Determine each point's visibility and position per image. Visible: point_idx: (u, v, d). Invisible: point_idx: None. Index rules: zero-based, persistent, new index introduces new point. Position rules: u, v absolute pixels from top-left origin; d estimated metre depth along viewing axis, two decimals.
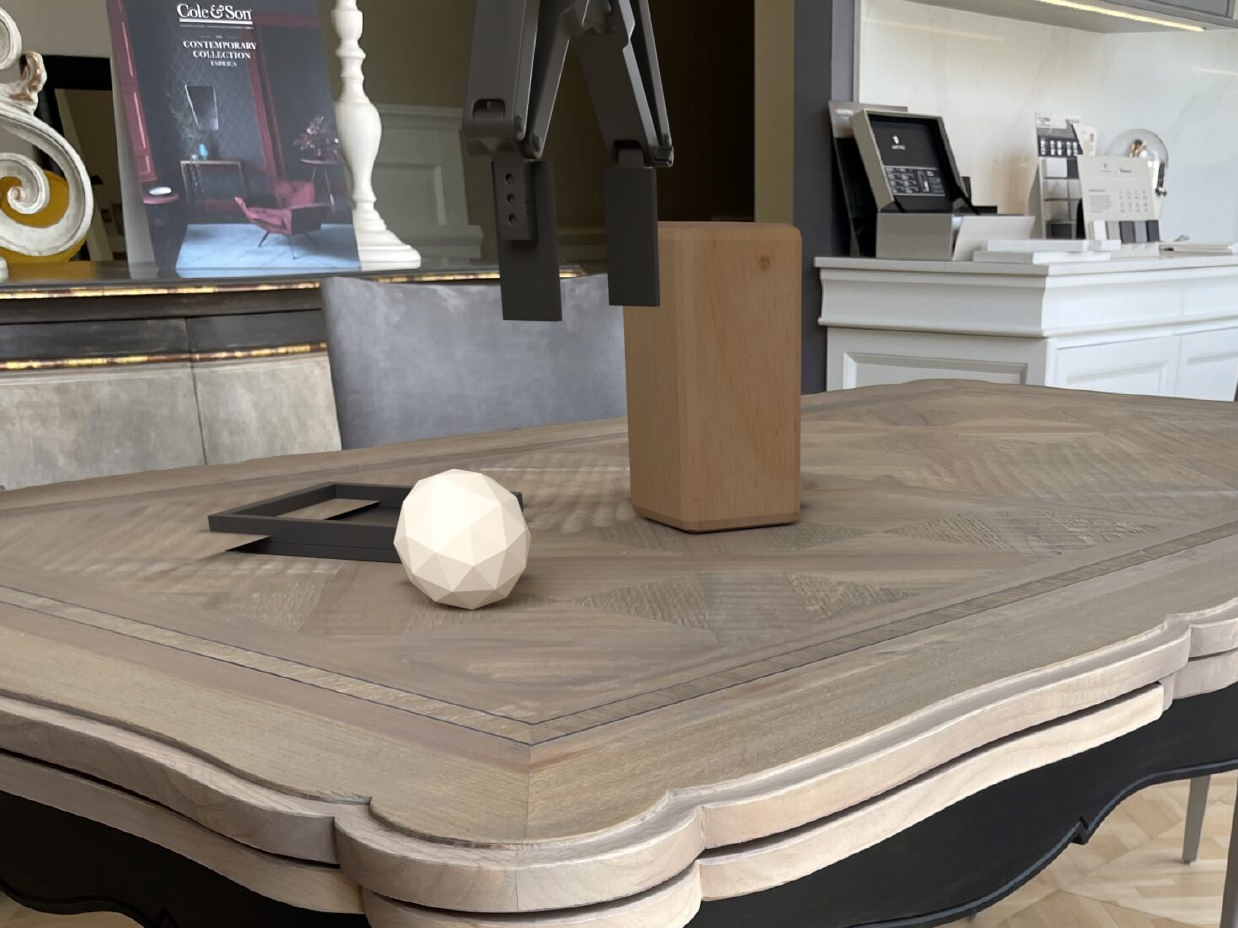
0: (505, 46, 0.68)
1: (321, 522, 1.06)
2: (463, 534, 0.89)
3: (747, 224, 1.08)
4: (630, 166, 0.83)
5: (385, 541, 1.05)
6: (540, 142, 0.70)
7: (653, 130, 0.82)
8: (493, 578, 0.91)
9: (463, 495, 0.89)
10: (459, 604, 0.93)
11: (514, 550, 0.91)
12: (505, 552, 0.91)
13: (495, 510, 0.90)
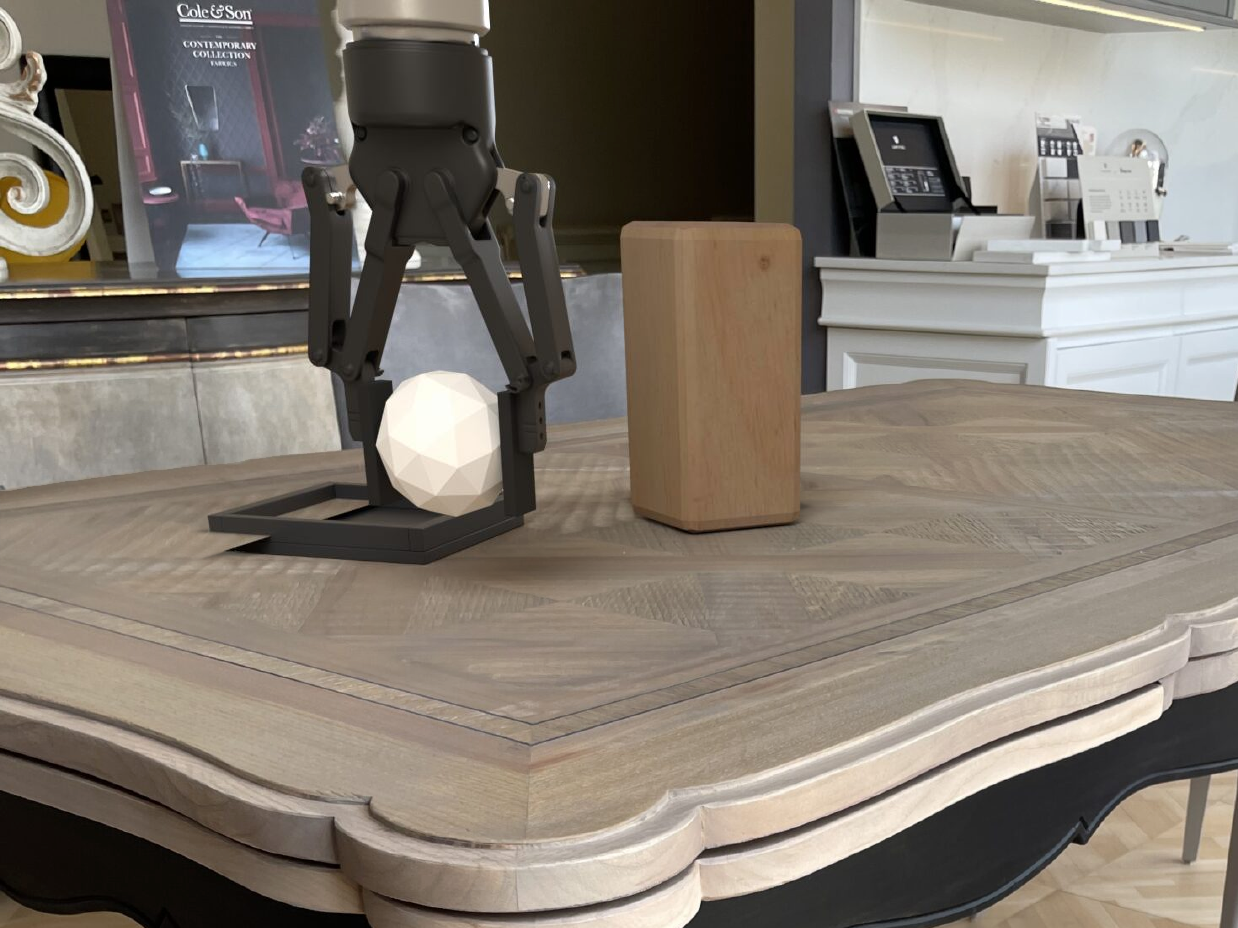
0: (560, 306, 0.86)
1: (321, 522, 1.06)
2: (448, 434, 0.87)
3: (747, 224, 1.08)
4: (368, 380, 0.90)
5: (385, 541, 1.05)
6: None
7: None
8: (477, 483, 0.89)
9: (447, 395, 0.87)
10: (443, 510, 0.90)
11: (500, 454, 0.89)
12: (491, 455, 0.88)
13: (481, 411, 0.87)
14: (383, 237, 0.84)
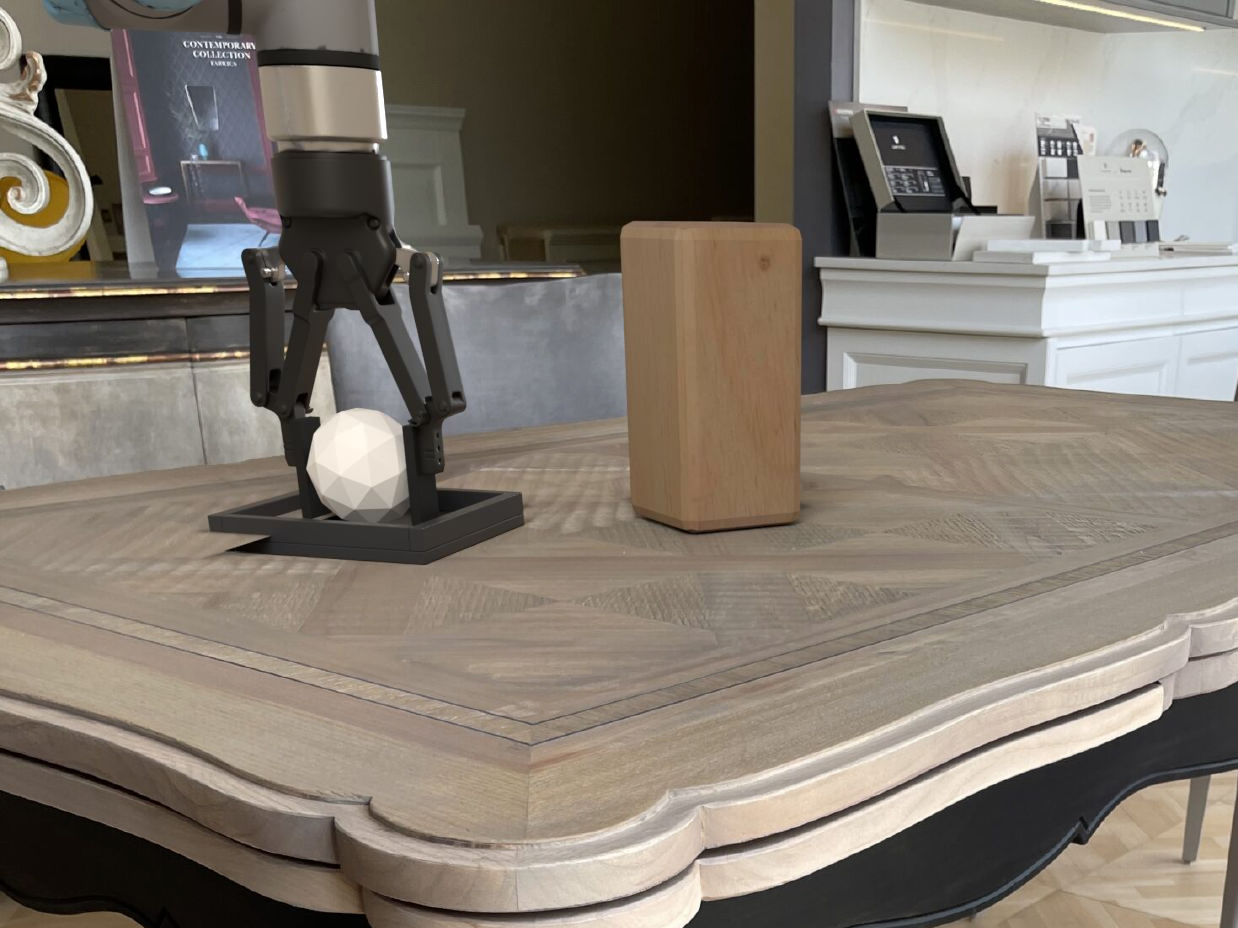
0: (451, 356, 1.06)
1: (321, 522, 1.06)
2: (362, 460, 1.08)
3: (747, 224, 1.08)
4: (300, 417, 1.11)
5: (385, 541, 1.05)
6: None
7: None
8: (388, 499, 1.10)
9: (362, 428, 1.08)
10: (362, 521, 1.11)
11: (406, 475, 1.10)
12: (398, 476, 1.09)
13: (389, 440, 1.08)
14: (307, 304, 1.05)
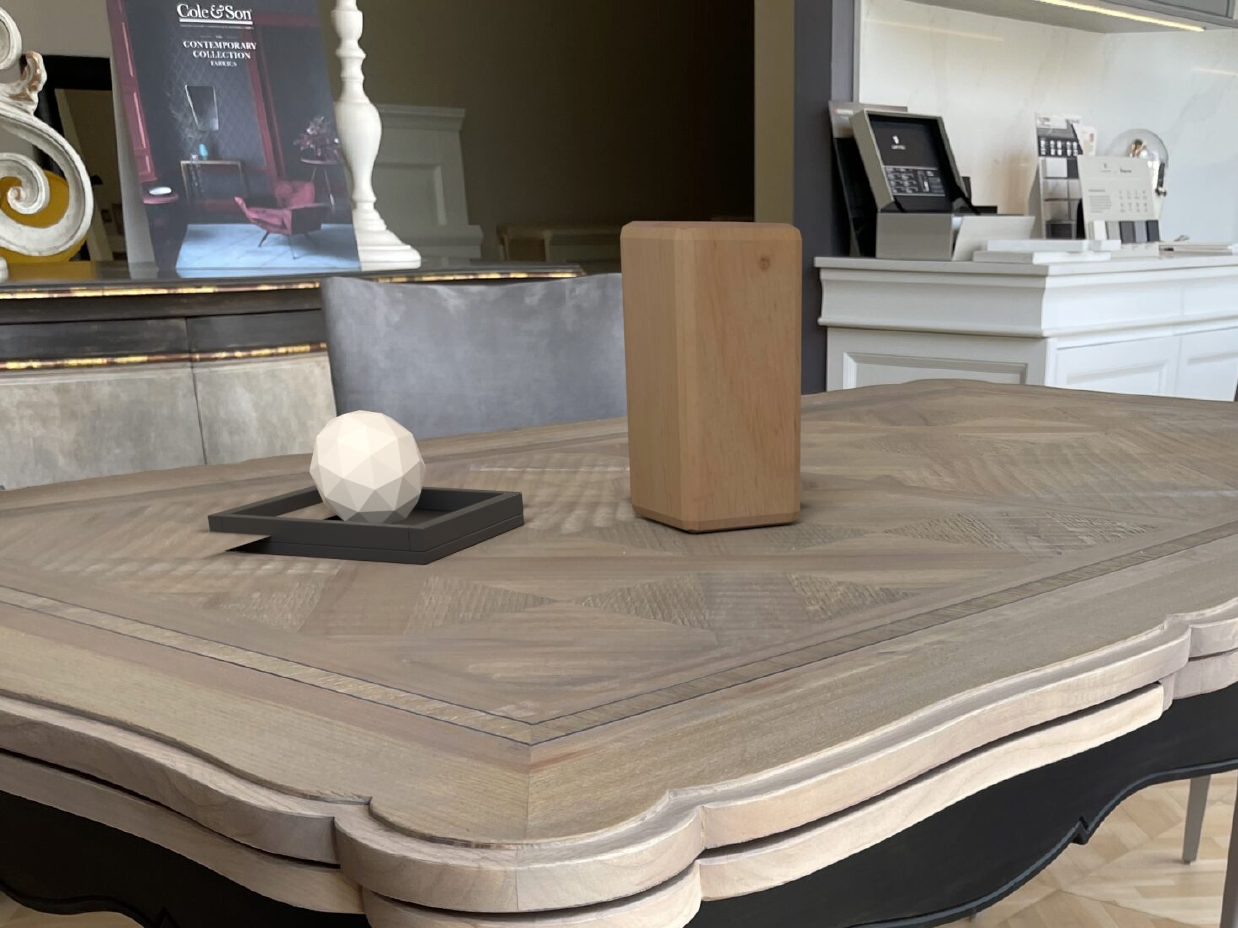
0: None
1: (321, 522, 1.06)
2: (366, 462, 1.08)
3: (747, 224, 1.08)
4: None
5: (385, 541, 1.05)
6: None
7: None
8: (392, 501, 1.10)
9: (365, 430, 1.08)
10: None
11: (409, 478, 1.10)
12: (402, 478, 1.09)
13: (392, 443, 1.08)
14: None
